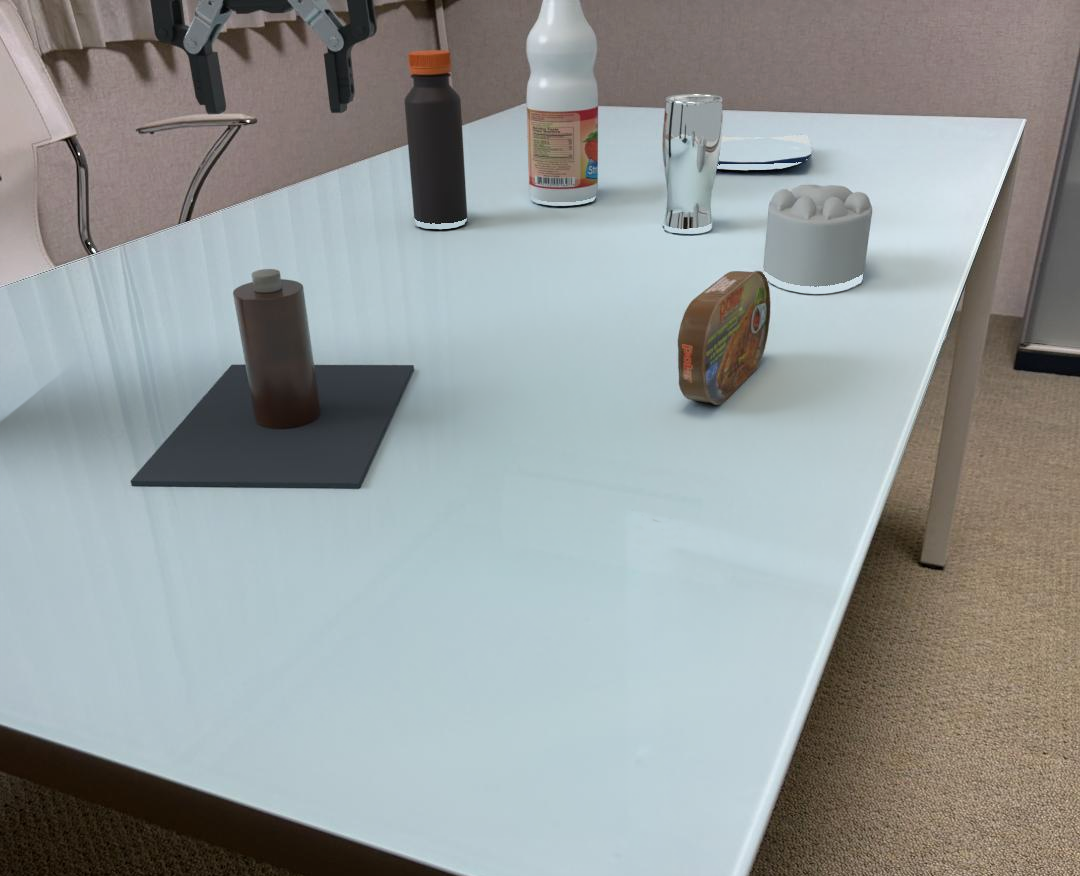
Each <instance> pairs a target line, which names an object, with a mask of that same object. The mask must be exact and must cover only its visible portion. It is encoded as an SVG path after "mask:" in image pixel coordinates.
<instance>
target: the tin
mask: <svg viewBox="0 0 1080 876" xmlns="http://www.w3.org/2000/svg"><path fill="white" fill-rule="evenodd" d="M684 311H685V312H684V313H683V316H682V319H681V322H680V327H679V330H678V335H677V359H678V360H677V368H678V370H677V371H678V387H679V390H680V392H681V394H682V395H683V397H685V398H686V399H687V400H690V401H694V402H701V403H710V404H713V405H715V406H720V405H722V404H724V403H725V402H726V401H727V400H728V399H729V398H730V397H731V395H733V394H734V392H735V391H736V390H737V389H739V387H741V386H742V384H743V383H744V382H745V381H746V380H747V379H748V378H749V377H750V376H751V375H752V374H753V373H754V372H755V371H756V369H757V368H758V367H759V366H760V362H761V361H762V359H763V355H764V352H765V350H766V345H767V340H768V336H769V329H770V320H771V290H770V284H769V283H768V281H767V278H766V277H765V275H764V274H763V271H761V270H754V271H745V270H744V271H742V270H732V271H728V272H727V273H725V274H724V275H723V276H722V277H720V278H719V279H718V280H716V281H715V282H713V283H712V284H711V285H710V286H709V287H707V288H706V289H705V290H703V291H702V292H700V293H699V295H697V296H696V297H694V298H693V299H692V300H691V301H690V302H689V304H688V306H687V307H686V309H685V310H684Z"/></svg>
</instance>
